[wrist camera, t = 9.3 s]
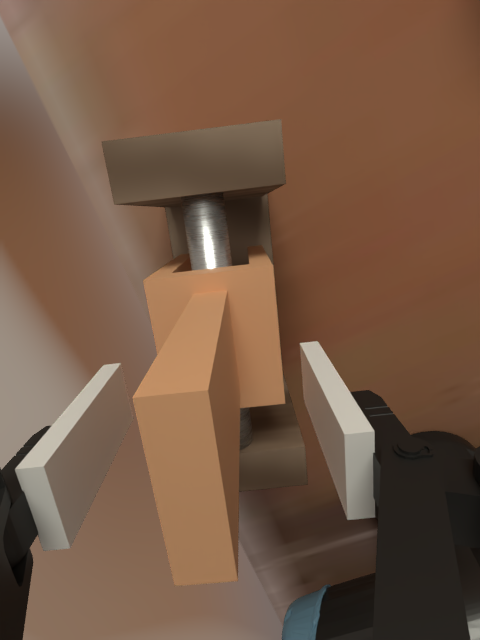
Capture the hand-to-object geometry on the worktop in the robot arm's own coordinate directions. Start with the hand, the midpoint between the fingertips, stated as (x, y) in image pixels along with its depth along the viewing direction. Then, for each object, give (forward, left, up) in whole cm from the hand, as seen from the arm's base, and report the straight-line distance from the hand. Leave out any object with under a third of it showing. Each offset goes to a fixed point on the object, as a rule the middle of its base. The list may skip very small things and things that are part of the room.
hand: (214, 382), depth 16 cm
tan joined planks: (0, 0, -16) cm, 16 cm away
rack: (0, 0, -24) cm, 24 cm away
